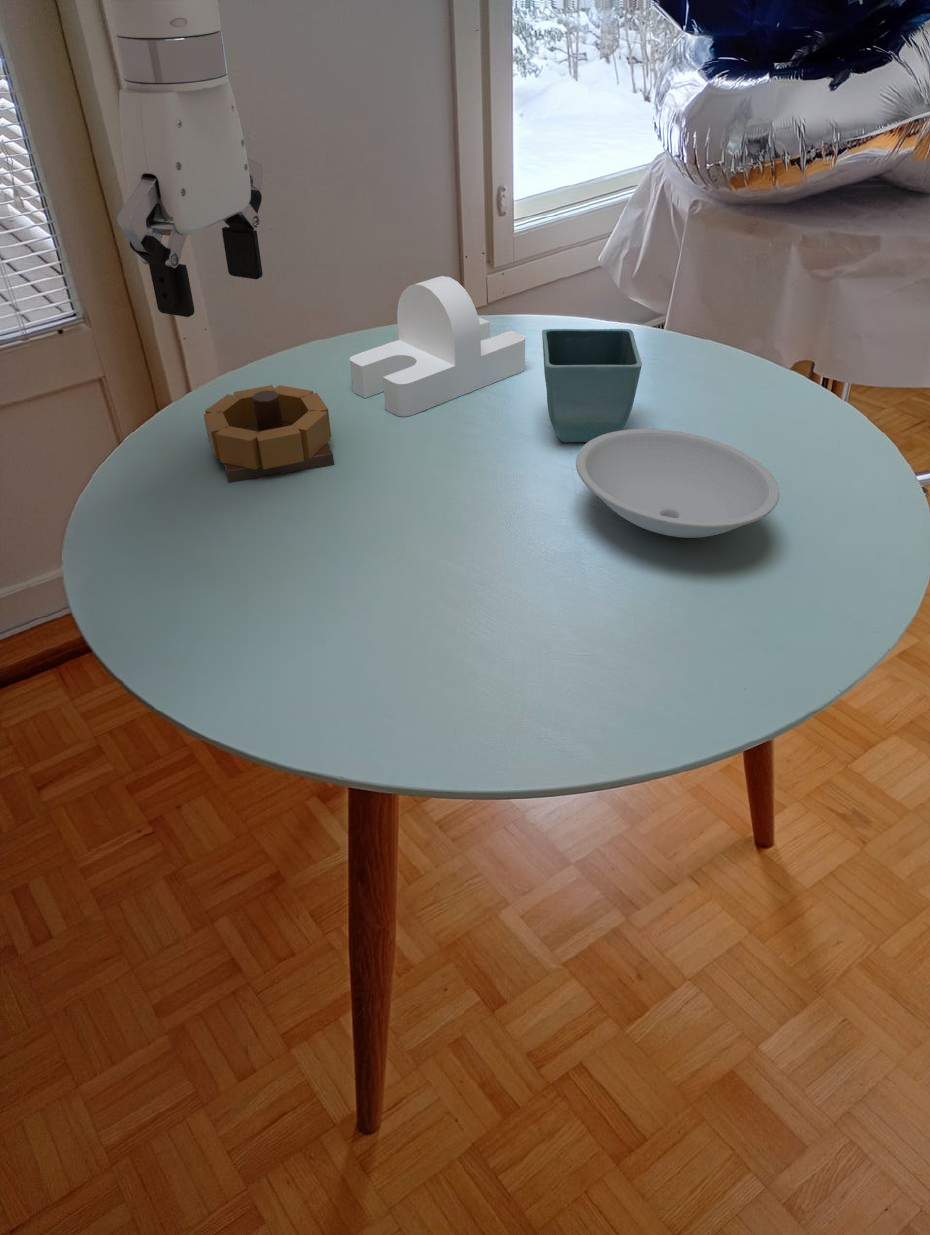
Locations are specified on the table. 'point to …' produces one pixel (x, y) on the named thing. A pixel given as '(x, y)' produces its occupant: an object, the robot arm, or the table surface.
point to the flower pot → (589, 380)
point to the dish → (676, 481)
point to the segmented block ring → (269, 444)
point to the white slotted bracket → (436, 351)
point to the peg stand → (271, 419)
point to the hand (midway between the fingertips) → (212, 294)
